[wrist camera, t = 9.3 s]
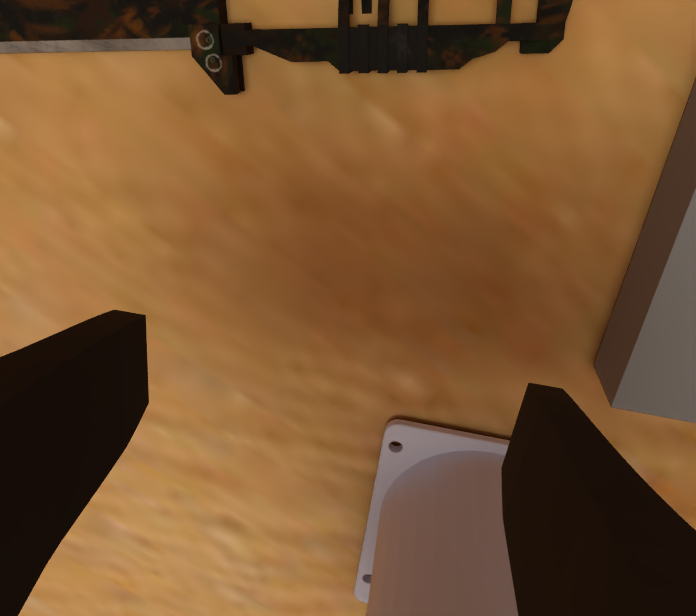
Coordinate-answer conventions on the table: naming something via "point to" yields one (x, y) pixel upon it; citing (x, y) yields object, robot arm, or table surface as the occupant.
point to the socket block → (659, 298)
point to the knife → (268, 35)
